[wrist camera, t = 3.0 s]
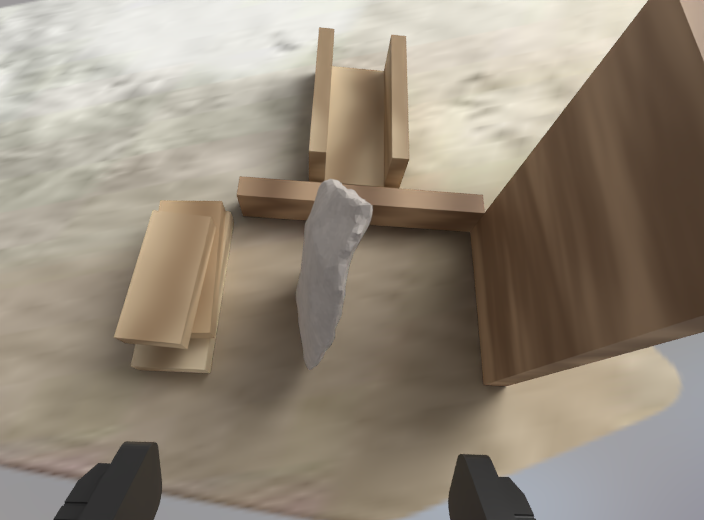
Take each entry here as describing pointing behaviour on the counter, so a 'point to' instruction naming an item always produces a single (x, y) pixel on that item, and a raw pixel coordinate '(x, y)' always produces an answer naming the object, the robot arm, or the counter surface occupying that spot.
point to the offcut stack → (178, 287)
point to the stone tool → (327, 264)
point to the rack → (578, 212)
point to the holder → (359, 119)
